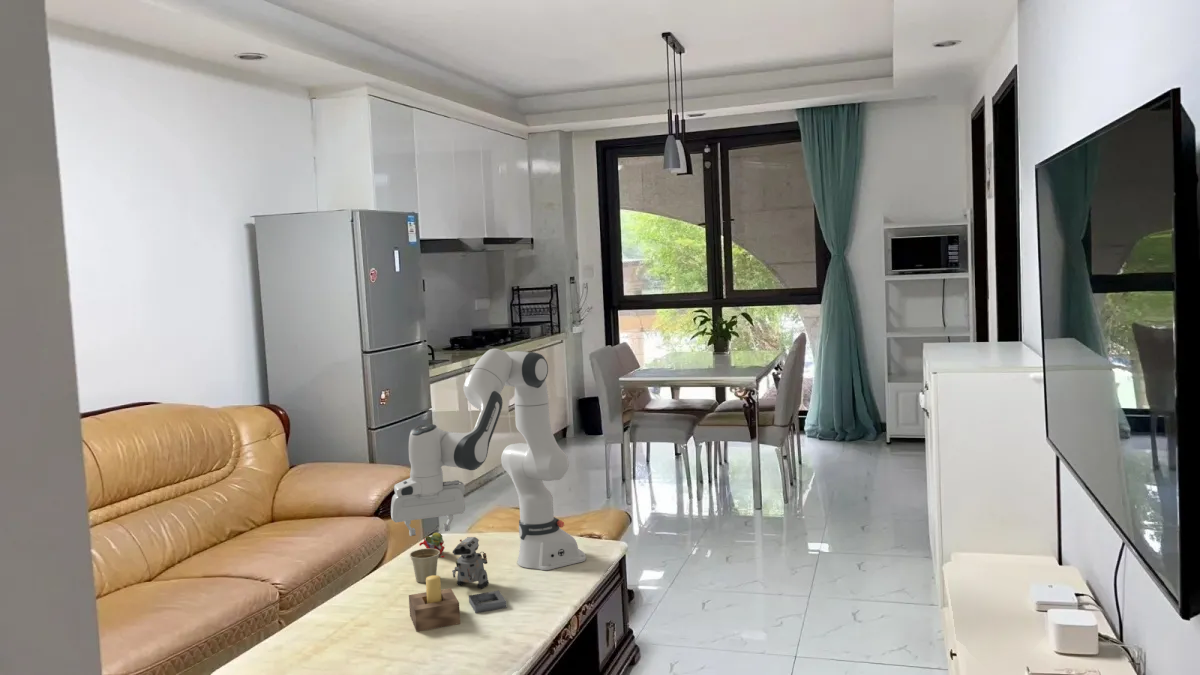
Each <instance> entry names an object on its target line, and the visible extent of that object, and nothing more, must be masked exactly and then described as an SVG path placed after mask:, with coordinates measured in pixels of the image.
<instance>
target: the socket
mask: <svg viewBox="0 0 1200 675" xmlns="http://www.w3.org/2000/svg"><path fill="white" fill-rule="evenodd" d="M441 599H442V601H440V602H434V603H428V604H427V592H426V591H425V592H420V593H414V594H408V605H409V616H410V620H411V622H412V625H413V627H414V629H415V631H416V632H422V631H429V630H432V629H438V628H445V627H449V626H455V625H461V614H460V610H461V609H460V602H459V599H457V597H456V594H455V593H454V592H453V589H452V588H451V587H449V588H445V589H444V588H443V589H441Z"/></svg>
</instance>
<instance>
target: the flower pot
mask: <svg viewBox="0 0 1200 675" xmlns="http://www.w3.org/2000/svg"><path fill="white" fill-rule="evenodd" d="M440 555H441V554H440V551H439V550H437V549H431V548H420V549H416V550H413V551H412V552H410V553H409V558H410V559H411V561H412V566H413V571H414V576H415V580H416V582H417V583H421V584H423V583H424V584H426V578H427V577H429V576H433V575H437V569H438V560H439V557H440Z"/></svg>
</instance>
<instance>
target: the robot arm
mask: <svg viewBox="0 0 1200 675" xmlns="http://www.w3.org/2000/svg"><path fill="white" fill-rule="evenodd" d="M548 373H549V365H548V362H547V360H546V358H545V356H544V355H543V354H541V353H538V352H533V351H531V352H528V351H522V350H513V351H504V350H502V349H499V348H491V349H488V350H487V351H485V353H484V354H483V355H482V356H480V358H479V359H478V360H477V362H475V364H474V365H473V367H472V368H471V369H470V372H469V373H468V374H467V376H466V377H465V380H464V383H463V387H462V391H463V394H464V396H465V399H467V401H468V403H469V404H471V406H473V407H474V408H476V409H478V410H480V412H479V414H478V418H477V420H476V422H475V425H474V427H473V429H472V430H470V431H468V432H464V433H463V432H453V431H446V430H443V429H440V428H438V426H437V425H436V424H432V423H426V424H425V423H424V424H419V425H417V426H415V427H414V428H412V429H411V430H410V433H409V436H408V460H409V464H410V472H409V478H406V479H404V480H402V481H400V482H398V483H395V484H394V485H393V491H394V494H393V495H392V497H391V502H390V503H391V504H390V516H391V520H392V521H393V522H394V523H402V522H404V525H405V526H406V528H407V529H408V531H409V532H408V534H409V536H410V537H414V536H417V535H416V529H415V528H414V527H412V526H410V525H411V524H412V523H411V522H412V521H417V520H423V519H433V518H438V517H439V518H440V517H445V516H446V518H447V520H446V522H445V523H443V524H442V526H443V531H444V532H449V531H450V530H451V527H450V526H451V523H452V522H453V519H454V515H459V514H460V515H461V514H465V513H464V512H465V511H466V502H465V498H464V495H465V491H466V489H465V488H466V487H465V486H466V485H465V484H464V483H463V482H462V481H459V480H452V481H450V480H449V481H444V475H443V474H444V473H443V468H442V467H443V466H444V467H445V466H446V467H449V468H460V469H464V470H468V471H475V470H478V469H479V468H480V467H481V466H483V464H484V463H485V462H486V459H487V457H488V455H489V454H488V452H489V446H490V443H491V440H492V437H493V435H494V432H495V429H496V426H497V424H498V421H499V420H500V415H501V412H502V409H503V404H504V403H503V398H502V396H501V395H502V394H501V393H502V391H503V389H504V387H514V396H513V397H514V418H515V421H514V422H515V427H516V429H517V431H518V432H519V433H520V434H521V435H522V436H523V438H524V440H525V442H516V443H511V444H508V445H507V446H505V448H504V449H503V451H502V453H501V455H500V456H501V458H500V462H501V467H502V468H503V469H504V471H505V472H506V473H507V474H508V475H509V477H510V479H511V481H512V483H513V485H514V487H515V490H516V493H517V497H518V504H519V506H518V507H519V520H518V533H519V534H518V535H519V539H520V540H519V541H520V544H519V550H518V551H519V552H518V553H519V554H518V557H517V563H516V564H517V565H519V566H520V567H522V568H525V569H536V570H541V571H549V570H553V569H557V568H558V569H559V568H561V567H566V566H570V565H575V564H578V563H582V562H585V561H586V559H587V558H586V557H587V556H586V553H585V552H584V551H583V550H582V549H580V548H579V547H578V542H577V540H576V539H575V537H574V536H572V535H571V534H570V533H568V532H566V531H565V530H564V529H561V528H564V526H565V523H564V521H563V520H560V519H559V518H557V517H556V516H555V514H554V497H553V494H552V493H551V491H550V490H549V488H547V486H546V485H545V483H544V481H545V482H554V481H560V480H561V479H563V478H564V477H566V476H565V475H567V473H568V471H569V464H570V461H569V459H568V456H567V454H566V452H564V451H563V450H562V448H561V447H560V445H559V444H558V442H557V440H556V438H555V436H554V434H553V430H552V427H551V418H550V406H549V404H550V403H549V394H548V392H549V391H548V387H547V382H546V379H547V377H548Z"/></svg>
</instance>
